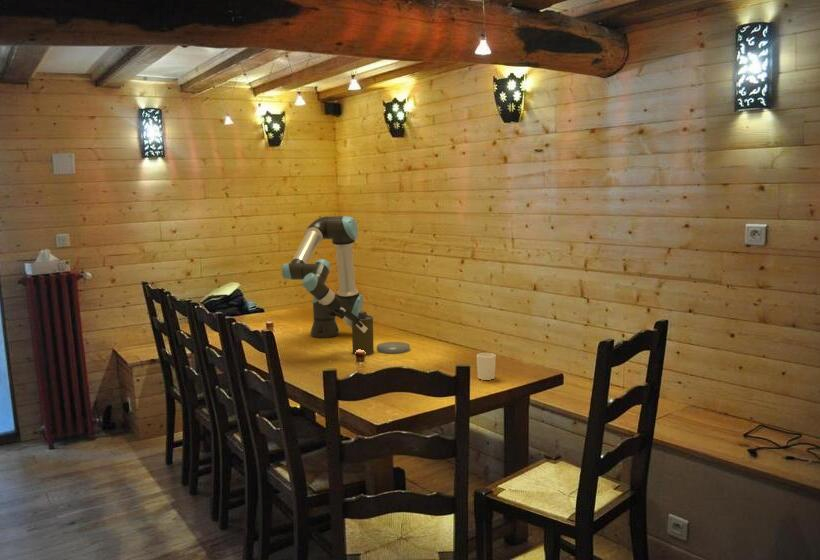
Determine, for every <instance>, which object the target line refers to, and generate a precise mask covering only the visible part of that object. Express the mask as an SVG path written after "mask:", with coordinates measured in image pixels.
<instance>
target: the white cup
mask: <svg viewBox="0 0 820 560" xmlns="http://www.w3.org/2000/svg"><path fill="white" fill-rule="evenodd" d="M496 358H497V355H496V354H495V353H491V352H480V353H477V354H476V368H477V372H476V373H477V379H478V378H479V379H484V380H491V379H494V380H495V376H496V374H495V373H496V361H497V359H496ZM479 379H478V380H479ZM491 381H492V380H491Z"/></svg>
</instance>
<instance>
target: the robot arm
mask: <svg viewBox="0 0 820 560" xmlns="http://www.w3.org/2000/svg"><path fill="white" fill-rule="evenodd" d="M303 235H304V237H303V239H302V241H301V242H300V244H299V247H298V248H297V249H296V252H295V254H294V256H293V258H292V259H291V261H290V263H289V262H287V263H283V265H282V266H281V276H282V278H283V279H284V280H292V281H293V280H296V281H297V280H299V281H300V280H301V285H302V287H303V288H304V289H305V290H306V291H307V292H308V293H309V294H311V295H312V297H313V298H312V312H313V316H312V317H313V322H312V326H311V329H310V336H311V337H312V338H319V339H322V338H323V339H324V338H325V339H327V338H334V337H337V336H339V335H340V330H339V329H340V328H339V327H338V324H337V321H336V317H337V318H339V319H341V320H342V321H343V322H344V323H345V324H346V325H347V326H348V327H349V328H350V329H352V322H353V323H355V324H354V325H356V326H357V327H358V328H359V329H360V330H361V331H362V332H363V333H365V332H366V330H367V329H368V328H367V327H366V326H365V325H364V324H363V323H362V322H361V321H360V319H359V318H357V317H356V316H358V313H359V312H360V311H362V310H363V306H364V297H363V295H362V294H360V291H359V290H358V288H356V278H355V277H356V276H355V264H354V263H355V262H354V251H353V245H354V243H355V242H356V240H357V239H358V236H359V229H358V223H357V221H356V219H355V218H354V217H353V216H346V215H342V216H340V215H338V216H337V215H336V216H333V215H332V216H320V217H318V218H317V219H315V220H314V221H312V222H311V223H310V224H309V225H308V226H307V228H306V229H305V230H304V234H303ZM323 240H331V244H332V245H333V246H334V247H335V255H336V267H337V277H338V279H337V280H338V287H339V288H338V291H336V292H335V291H333V290H332V289H331V288H329V287H328V286H327V285H326V281H327V279H328V277H329V274H330V271H331V264H330V261H328V260H327V259H324V258H320V259H317V260H316V261H315V263H310V261H311V259H312V256H313V255H314V253H315V251H316V249H317V247H318V244H320V243H322V241H323Z"/></svg>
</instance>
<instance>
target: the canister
mask: <svg viewBox="0 0 820 560" xmlns="http://www.w3.org/2000/svg"><path fill="white" fill-rule="evenodd" d="M356 317H357V318H359V319H360V321H361V322H362V323H363V324H364V325H365V326H366V327H367V328H368V329H367V330H366V332H365V333H363V332H362V331H361V330H360V329H359V328H358V327H357V326H356V325H354V324H355V323H353V322H352V328H351V337H352V352H351V353H353V355H354V354H355V352H356V350H358V349H361V350H364V351H365V352H366V355H365V356H371V355H373V354H374V353H375V351H374V350H375V349H374V316H372V315H368V314H367V311H360V312H359V313H358V316H356Z"/></svg>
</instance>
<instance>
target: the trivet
mask: <svg viewBox="0 0 820 560" xmlns="http://www.w3.org/2000/svg"><path fill="white" fill-rule="evenodd" d="M410 346H411V345H410V344H409V343H406V342H402V341H387V342H382V343H378V344H377V345H376V351H377V352H378V353H381V354H387V355H388V354H389V355H396V354H404V352H405V353H408V352H409V351H411V350H410V349H411V347H410ZM407 351H408V352H407Z"/></svg>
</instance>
